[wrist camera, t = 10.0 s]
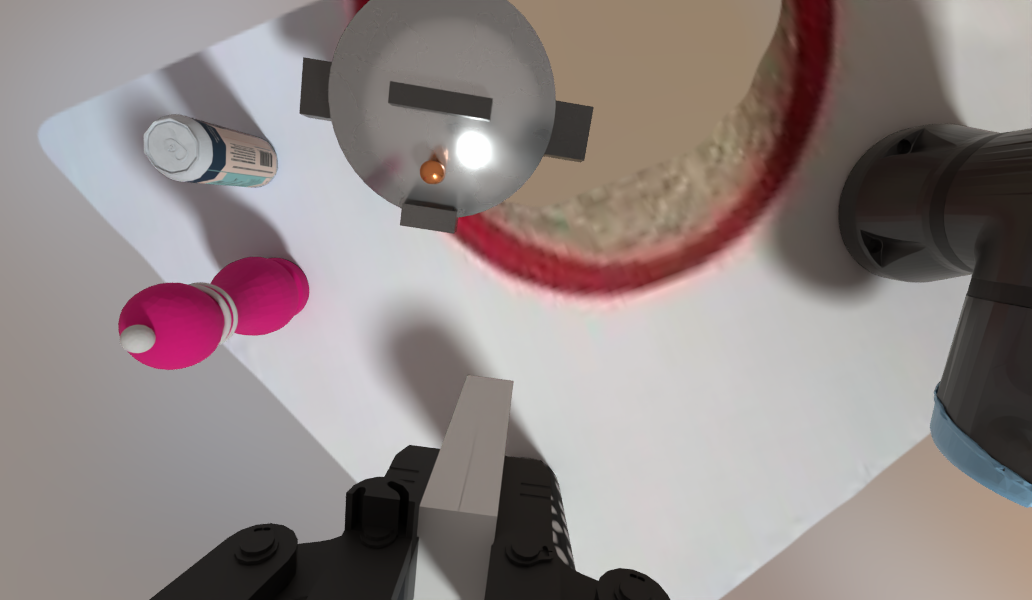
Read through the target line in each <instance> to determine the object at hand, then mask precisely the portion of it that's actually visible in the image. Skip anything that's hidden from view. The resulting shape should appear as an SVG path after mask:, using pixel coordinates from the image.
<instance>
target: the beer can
mask: <svg viewBox="0 0 1032 600" xmlns="http://www.w3.org/2000/svg"><path fill="white" fill-rule="evenodd" d="M144 153H145V154H146V156H147V157H148V159H149V160H150V162H151V163H152V165H153V166H154V168H156V169H157V170H158V171H159V172H160V173H162V174H163V175H165V176H166V177H168V178H170V179H172V180H176V181H180V182H192V183H204V184H216V185H228V186H241V187H255V188H256V187H262V186H264V185H266V184H268V183H269V182H270V181H271V180H272V179H273V178H274V176H275V175H276V172H277V168H278V160H277V156H276V153H275V151H274V149H273V148H272V147H271V145H270V144H269V143H268V142H266V141H265V140H263V139H261V138H259V137H256V136H252V135H249V134H245V133H242V132H238V131H235V130H231V129H228V128H224V127H221V126H218V125H214V124H211V123H207V122H204V121H200V120H197V119H193V118H190V117H187V116H184V115H176V114H173V115H168V116H164V117H162V118H160V119H158V120H157V121H154V122H153V123H152V124H151V126H150V127H149V128H148V130H147V131H146V132H145V133H144Z"/></svg>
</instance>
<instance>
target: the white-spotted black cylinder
mask: <svg viewBox="0 0 1032 600" xmlns="http://www.w3.org/2000/svg"><path fill="white" fill-rule="evenodd" d="M524 459H530V458H524ZM531 460H534V459H531ZM543 464H544V463H543ZM544 465H545V464H544ZM545 467H546V468H547V470H548V471H549V472H550V483H551V488H550V489H551V505H552V527H553V543H554V547H555V548H556V551H557V554H558V556H559V557H560V558H561V559H562V560H563V562H564V563H565V564H567V565H568V566H569V567H570V568H572V569H573V570H575V565H574V560H573V555H572V549H571V544H570V539H569V534H568V529H567V524H566V519H565V514H564V508H563V503H562V498H561V493H560V488H559V484H558V480H557V478H556V476H555V474H554V473H553V471H552V470H551V469H550V468H549V467H548V466H546V465H545ZM575 571H576V570H575Z"/></svg>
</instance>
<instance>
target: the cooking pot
mask: <svg viewBox="0 0 1032 600" xmlns="http://www.w3.org/2000/svg"><path fill="white" fill-rule="evenodd" d="M331 65H332V62H327V61H321V60H316V59H310V58H304V57H303V71H302V85H301V100H300V114H302V115H304V116H306V117H309V118H315V119H321V120H327V121H332V120H331V116H330V108H329V77H330V69H331ZM592 112H593V107H590V106H584V105H579V104H573V103H567V102H561V101H556V108H555V118H554V125H553V129H552V133H551V138H550V140H549V143H548V146H547V149H546V151H545V153H544V155H543V156H546V157H552V158H558V159H564V160H570V161H576V162H582V161H584V158H585V153H586V147H587V141H588V136H589V130H590V124H591V119H592Z"/></svg>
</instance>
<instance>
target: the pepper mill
mask: <svg viewBox="0 0 1032 600" xmlns="http://www.w3.org/2000/svg"><path fill="white" fill-rule="evenodd" d="M308 297H309V285H308V281H307V279H306V276H305V275H304V273H303V272H302V270H301V269H300V268H299V267H298V266H297V265H295V264H294V263H292V262H290V261H288V260H286V259H282V258H268V259H267V258H262V257H248V258H243V259H240V260H238V261H235V262H232V263H230V264H229V265H227V266H226V267H224V268H223V269H222V270H221V271H220V272H219V273H218V274H217V275H216V276H215V277H214V279H213V280H212V282H211V284H209V283H192V284H189V285H187V284H183V283H163V284H157V285H154V286H151V287H148V288H146V289H144V290H142V291H141V292H139V293H137V294H136V295H134V296H133V297H132V298H131V299H130V300H129V301H128V302H127V303H126V305H125V306H124V307H123V309H122V312H121V314H120V318H119V323H118V325H119V334H120V343H121V346H122V347H123V348H124V349H125V350H127V351H128V353H130V355H132V356H133V357H134V358H135V359H136V360H138V361H140V362H141V363H143V364H145V365H147V366H150V367H153V368H157V369H166V370H173V369H182V368H186V367H189V366H192V365H195V364H197V363H199V362H201V361H202V360H204V359H205V358H207V357H208V356H209V355H211V353H213V352H214V351H215V349H216V348H217V346H218V345H220V344H222V343H224V342H226V341H227V340H228V339H229V338H230V337H231V336H232V335H233V333H237V334H242V335H265V334H268V333H271V332H274V331H277V330H279V329H280V328H282V327H284V326H285V325H286V324H287V323H288V322H289V321H290V320H291V319H292V318H293V316H294V315H296V314H298V313H299V312H300V311H301V310H302V309H303V308H304V306H305V305H306V303H307V300H308Z"/></svg>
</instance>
